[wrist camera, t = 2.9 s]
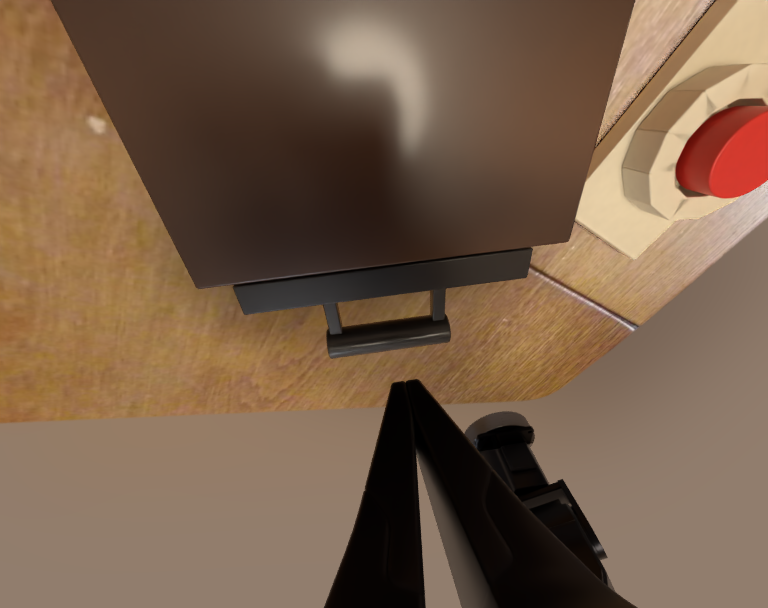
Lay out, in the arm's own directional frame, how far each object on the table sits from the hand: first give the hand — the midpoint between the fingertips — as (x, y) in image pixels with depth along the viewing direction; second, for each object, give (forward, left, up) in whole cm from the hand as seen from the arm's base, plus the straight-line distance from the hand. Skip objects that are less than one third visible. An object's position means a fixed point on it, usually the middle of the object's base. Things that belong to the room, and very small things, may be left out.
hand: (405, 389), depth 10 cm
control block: (+4, -16, -11) cm, 20 cm away
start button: (+4, -17, -8) cm, 19 cm away
